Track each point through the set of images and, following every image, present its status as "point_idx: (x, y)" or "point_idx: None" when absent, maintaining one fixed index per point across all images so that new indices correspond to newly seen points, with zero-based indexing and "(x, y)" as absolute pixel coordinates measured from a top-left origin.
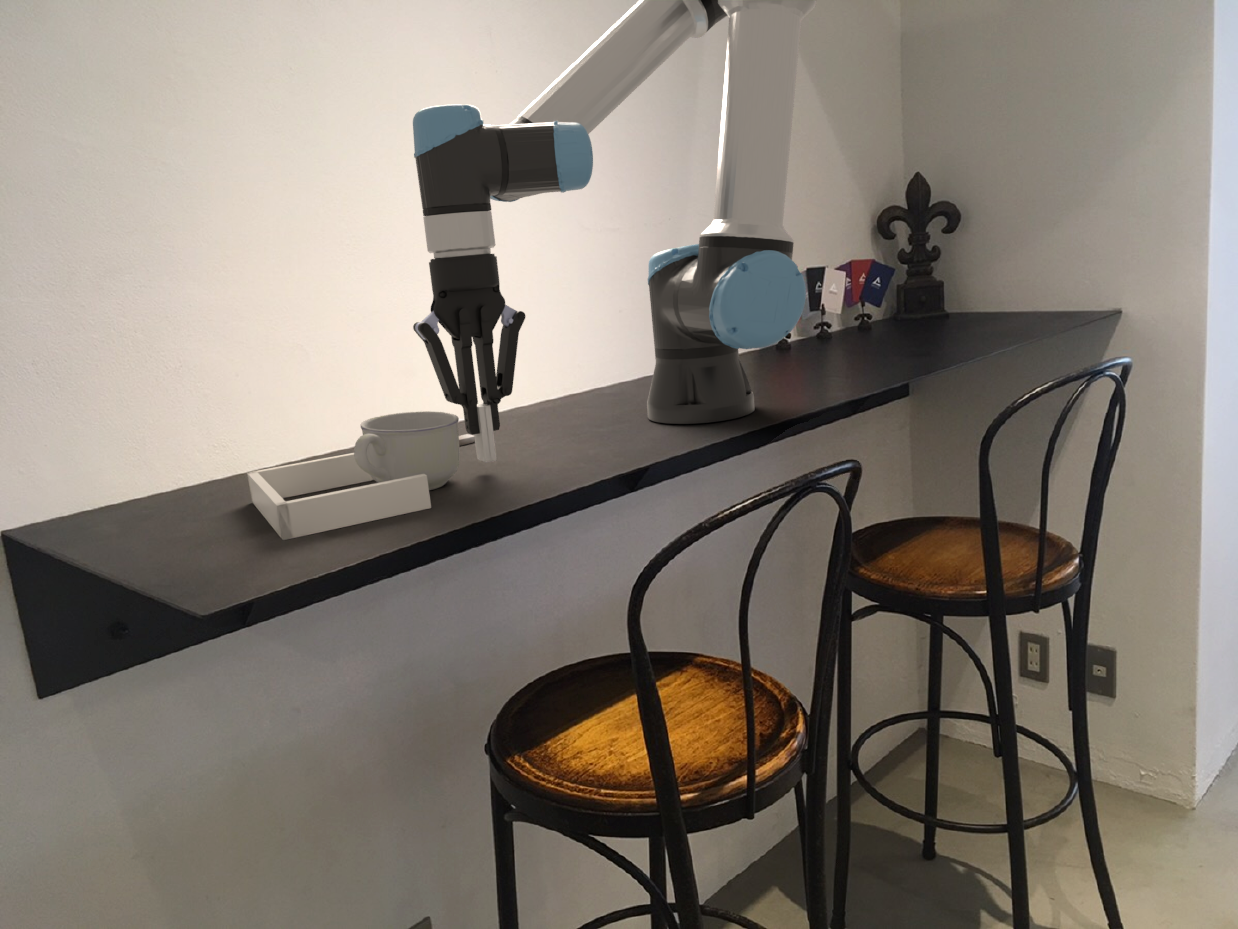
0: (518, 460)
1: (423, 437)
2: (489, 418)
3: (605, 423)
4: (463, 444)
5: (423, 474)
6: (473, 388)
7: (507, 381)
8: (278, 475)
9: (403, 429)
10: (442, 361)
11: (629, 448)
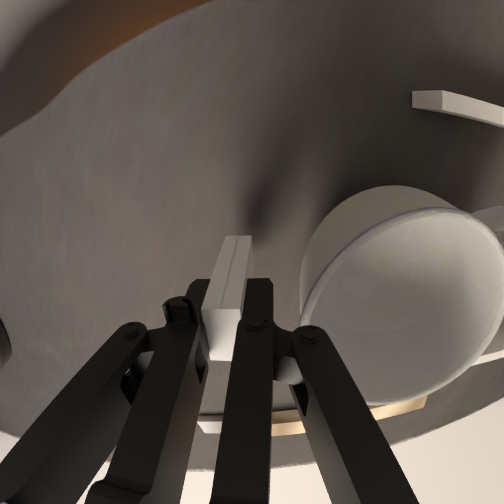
0: (169, 293)
1: (439, 205)
2: (215, 286)
3: (48, 368)
4: (217, 415)
5: (444, 104)
6: (243, 356)
7: (116, 352)
8: (500, 343)
9: (376, 375)
10: (372, 455)
11: (21, 228)
